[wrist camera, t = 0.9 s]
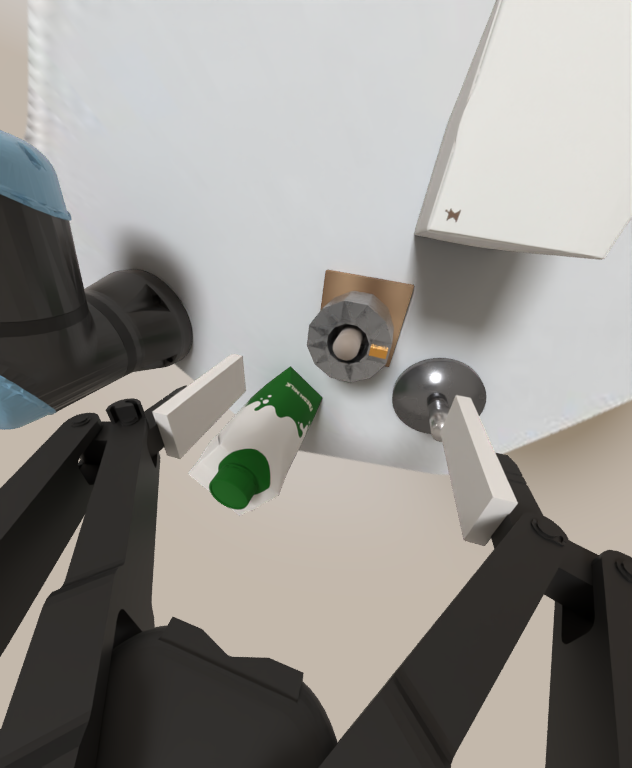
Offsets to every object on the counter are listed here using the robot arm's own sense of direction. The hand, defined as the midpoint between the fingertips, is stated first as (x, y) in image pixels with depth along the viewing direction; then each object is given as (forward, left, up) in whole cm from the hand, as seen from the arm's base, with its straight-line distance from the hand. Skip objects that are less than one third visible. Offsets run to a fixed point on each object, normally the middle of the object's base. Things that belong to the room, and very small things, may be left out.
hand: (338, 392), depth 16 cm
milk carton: (-9, -15, -19) cm, 26 cm away
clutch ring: (-1, -1, -15) cm, 15 cm away
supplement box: (+7, +13, -19) cm, 24 cm away
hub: (+11, -9, -19) cm, 23 cm away
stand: (-1, -1, -19) cm, 19 cm away
